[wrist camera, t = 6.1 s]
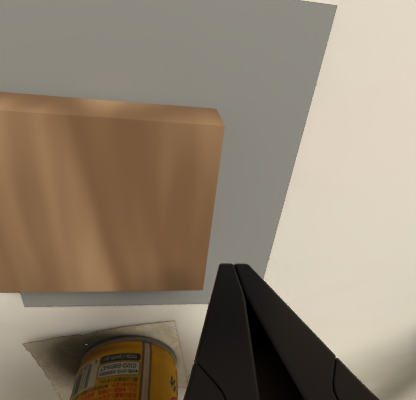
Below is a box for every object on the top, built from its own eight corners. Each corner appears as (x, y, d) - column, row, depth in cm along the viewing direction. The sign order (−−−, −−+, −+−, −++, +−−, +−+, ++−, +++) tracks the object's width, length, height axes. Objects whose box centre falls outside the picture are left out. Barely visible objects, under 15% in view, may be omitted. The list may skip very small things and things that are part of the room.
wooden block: (225, 125, 9) (-77, 104, 8) (202, 290, 13) (-7, 292, 11) (215, 106, 11) (-28, 87, 10) (198, 254, 14) (18, 253, 13)
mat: (331, 5, 10) (337, 5, 10) (255, 297, 17) (256, 302, 17) (-75, -50, 8) (-85, -53, 8) (27, 300, 15) (24, 306, 15)
